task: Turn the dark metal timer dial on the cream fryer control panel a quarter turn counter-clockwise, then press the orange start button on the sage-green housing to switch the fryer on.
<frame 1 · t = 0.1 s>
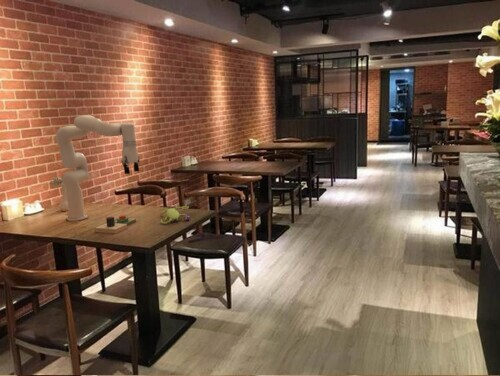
hand: (132, 172, 255), 31 cm above the table, tool pointing down, fingers open, 9 cm apart
flower vase: (65, 210, 301), on the table
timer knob: (110, 221, 245), point 5 cm above the table, hinge at 0.0°
figurine: (174, 218, 268), on the table
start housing: (123, 223, 260), on the table
fryer panel: (111, 230, 246), on the table
start button: (122, 217, 259), point 4 cm above the table, slide at 0.2 cm
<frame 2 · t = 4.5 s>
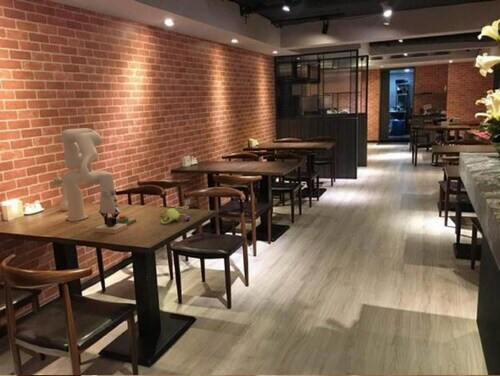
hand: (110, 224, 246), 4 cm above the table, tool pointing down, fingers closed on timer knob, 4 cm apart
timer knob: (110, 221, 245), point 5 cm above the table, hinge at 0.1°, touching gripper
everything else where it was.
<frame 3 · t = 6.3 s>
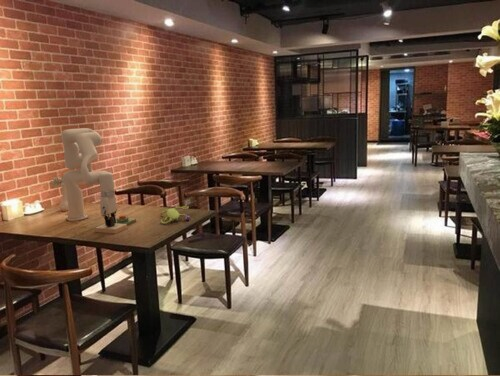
hand: (110, 224, 246), 4 cm above the table, tool pointing down, fingers closed on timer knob, 4 cm apart
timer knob: (110, 221, 245), point 5 cm above the table, hinge at 95.5°, touching gripper
everything else where it was.
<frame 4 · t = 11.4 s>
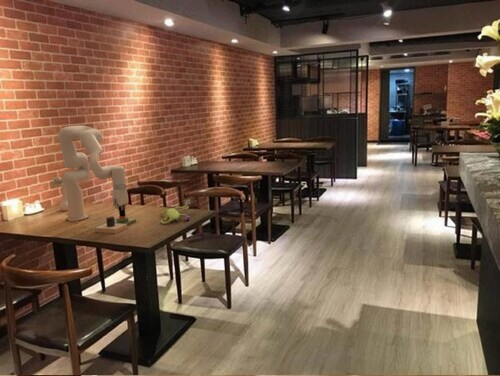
hand: (122, 216, 259), 5 cm above the table, tool pointing down, fingers closed
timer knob: (110, 221, 245), point 5 cm above the table, hinge at 93.8°
start button: (122, 217, 259), point 4 cm above the table, slide at 0.0 cm, touching gripper
everything else where it was.
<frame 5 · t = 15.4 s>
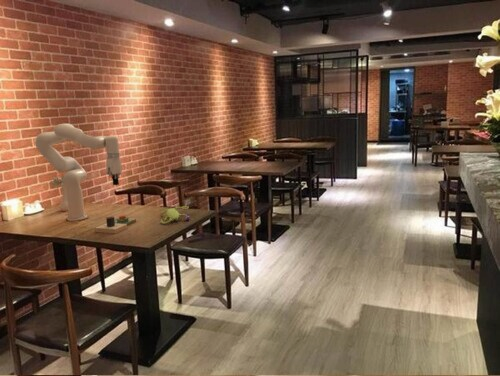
hand: (116, 184, 268), 22 cm above the table, tool pointing down, fingers closed
start button: (122, 217, 259), point 4 cm above the table, slide at 0.2 cm
everything else where it was.
at the end: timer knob at +94° (first picture: +0°); start button pushed in 0.9 cm at the most during the clip, back to 0.2 cm at the end; start button slide at 0.2 cm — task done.
